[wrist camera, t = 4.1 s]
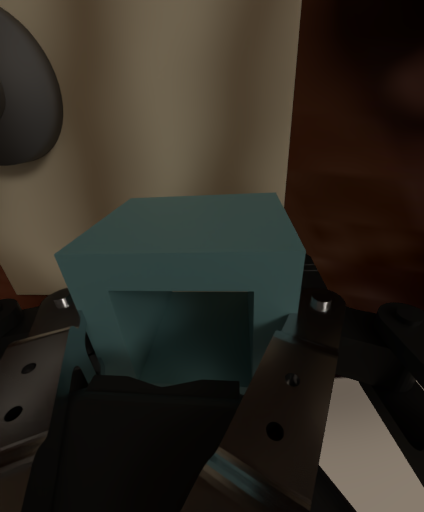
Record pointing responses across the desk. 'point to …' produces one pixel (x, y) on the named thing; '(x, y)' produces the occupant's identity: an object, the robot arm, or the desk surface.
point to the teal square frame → (186, 285)
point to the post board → (134, 113)
